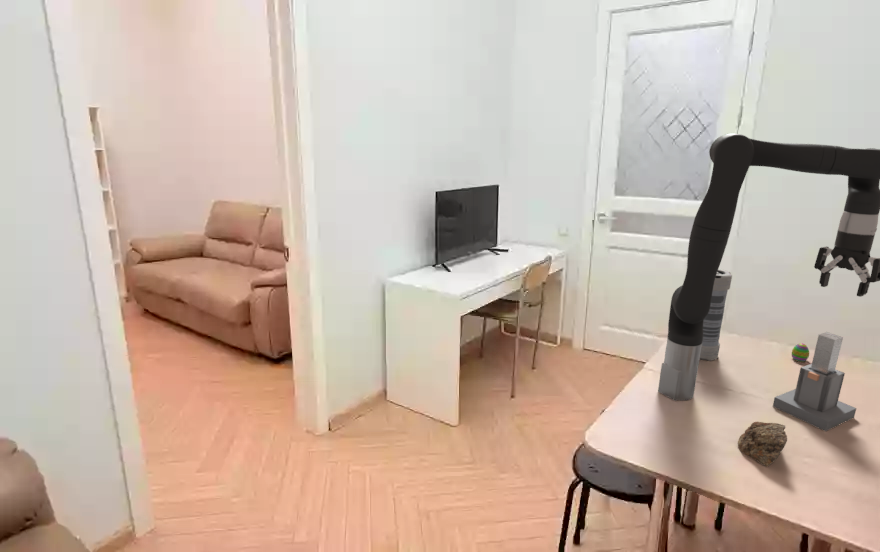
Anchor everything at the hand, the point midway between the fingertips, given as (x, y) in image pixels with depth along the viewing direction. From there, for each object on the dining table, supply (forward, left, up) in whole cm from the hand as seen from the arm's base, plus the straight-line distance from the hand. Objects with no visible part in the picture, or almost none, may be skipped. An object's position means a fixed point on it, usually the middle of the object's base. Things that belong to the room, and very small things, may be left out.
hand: (841, 291), depth 139 cm
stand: (0, 0, -36) cm, 36 cm away
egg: (+31, +21, -36) cm, 52 cm away
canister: (+5, +39, -36) cm, 53 cm away
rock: (-31, -4, -36) cm, 48 cm away
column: (0, 0, -33) cm, 33 cm away
